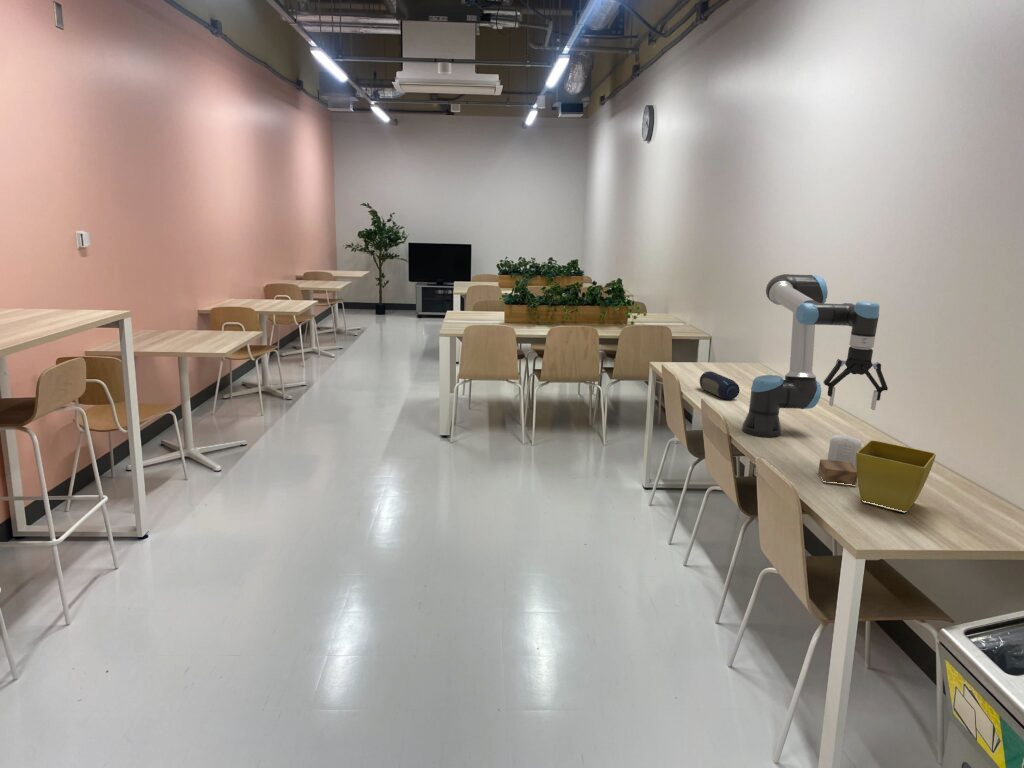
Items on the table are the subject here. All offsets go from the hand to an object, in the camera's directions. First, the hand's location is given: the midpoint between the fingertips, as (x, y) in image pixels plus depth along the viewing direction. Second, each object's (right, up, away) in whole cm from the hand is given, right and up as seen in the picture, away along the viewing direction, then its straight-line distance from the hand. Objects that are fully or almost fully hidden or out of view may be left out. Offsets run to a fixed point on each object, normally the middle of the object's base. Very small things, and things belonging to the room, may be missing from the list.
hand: (851, 407), depth 249 cm
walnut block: (-8, -24, -5) cm, 26 cm away
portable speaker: (-17, +3, +104) cm, 106 cm away
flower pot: (0, -30, -24) cm, 38 cm away
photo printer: (-1, -22, +5) cm, 23 cm away
